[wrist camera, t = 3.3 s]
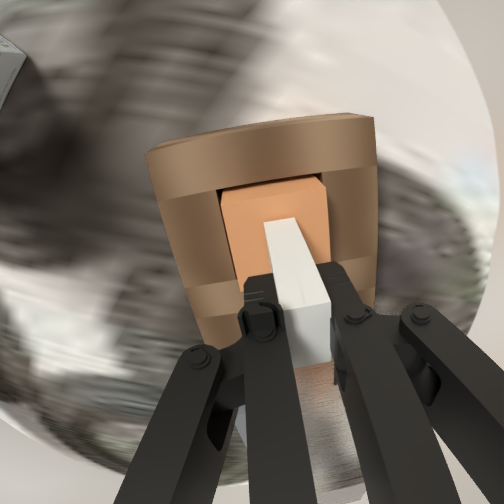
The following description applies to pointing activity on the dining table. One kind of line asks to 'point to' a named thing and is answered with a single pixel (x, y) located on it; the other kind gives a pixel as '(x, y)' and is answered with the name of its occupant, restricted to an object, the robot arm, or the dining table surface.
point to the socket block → (256, 170)
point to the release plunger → (270, 209)
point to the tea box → (8, 66)
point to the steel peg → (328, 436)
